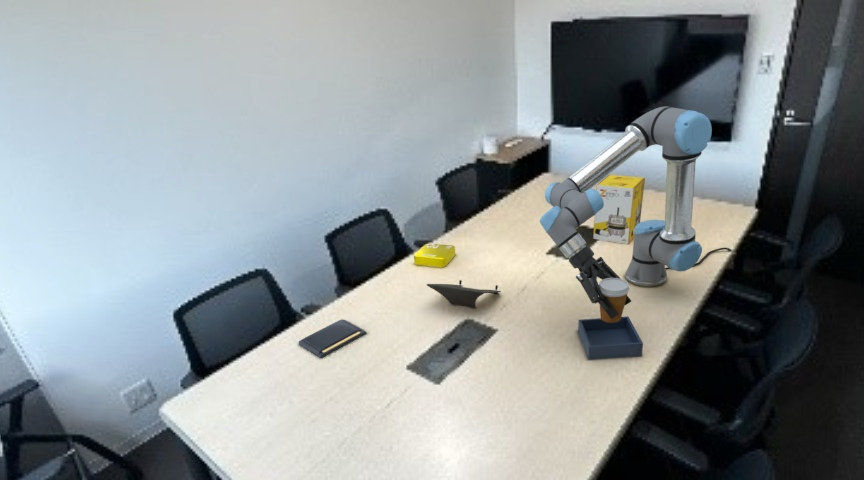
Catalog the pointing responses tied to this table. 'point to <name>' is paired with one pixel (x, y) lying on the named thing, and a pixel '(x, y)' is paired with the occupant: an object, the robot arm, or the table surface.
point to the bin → (609, 338)
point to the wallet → (331, 338)
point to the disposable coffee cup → (614, 297)
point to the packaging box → (619, 208)
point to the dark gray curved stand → (461, 293)
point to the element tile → (434, 255)
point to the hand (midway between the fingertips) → (621, 309)
